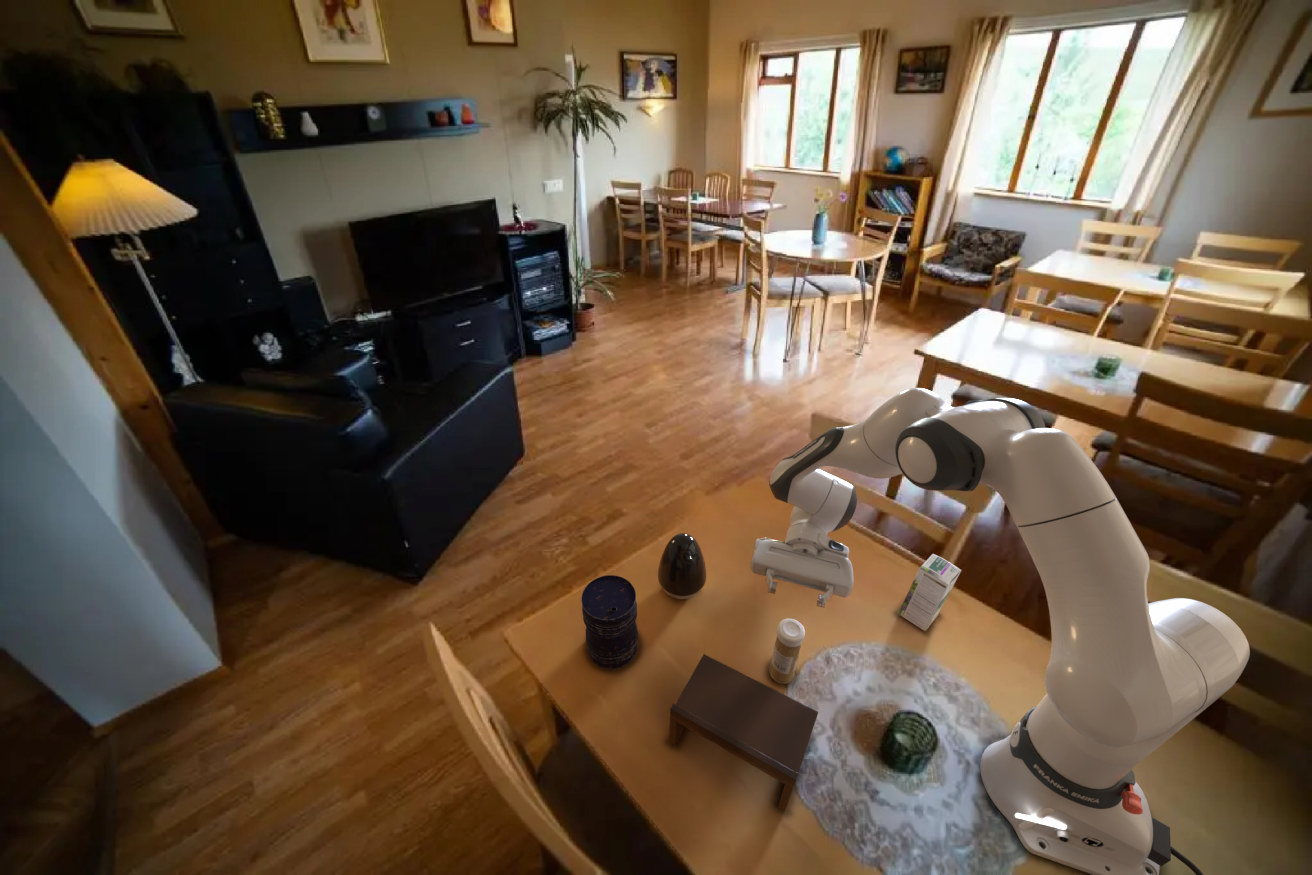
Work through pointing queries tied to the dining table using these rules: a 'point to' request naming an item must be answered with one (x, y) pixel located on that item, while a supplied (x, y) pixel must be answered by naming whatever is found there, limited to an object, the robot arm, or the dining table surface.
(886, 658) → the dining table surface
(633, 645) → the storage jar
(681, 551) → the black egg-shaped piece
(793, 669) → the sprinkles bottle
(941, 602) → the syrup box
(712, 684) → the desk shelf
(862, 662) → the dining table surface
